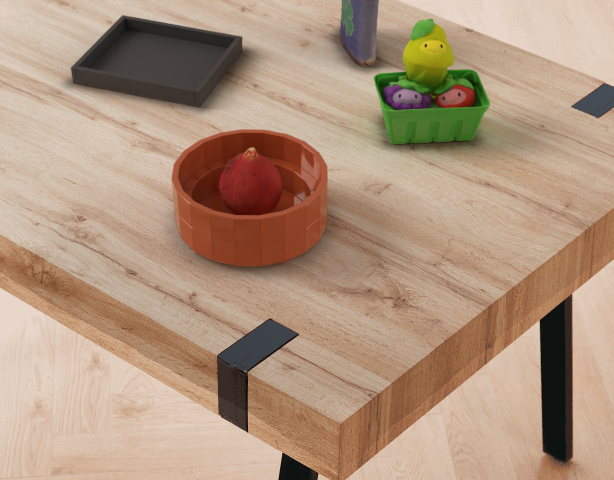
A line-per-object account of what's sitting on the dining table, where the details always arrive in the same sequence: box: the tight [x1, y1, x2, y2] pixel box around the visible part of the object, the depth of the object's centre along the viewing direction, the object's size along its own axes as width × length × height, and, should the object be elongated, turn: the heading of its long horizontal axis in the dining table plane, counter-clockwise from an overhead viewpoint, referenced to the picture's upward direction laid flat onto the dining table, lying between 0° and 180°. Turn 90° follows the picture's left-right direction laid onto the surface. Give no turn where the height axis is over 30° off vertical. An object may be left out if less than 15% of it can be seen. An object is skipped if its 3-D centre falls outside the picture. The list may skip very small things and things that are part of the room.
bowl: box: [170, 128, 329, 267], centre depth 101 cm, size 14×14×6 cm
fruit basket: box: [373, 18, 491, 145], centre depth 113 cm, size 11×9×11 cm
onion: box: [219, 147, 283, 215], centre depth 100 cm, size 6×6×8 cm
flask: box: [339, 0, 380, 68], centre depth 126 cm, size 9×3×11 cm, turn 17°
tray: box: [70, 14, 244, 109], centre depth 123 cm, size 15×13×2 cm
